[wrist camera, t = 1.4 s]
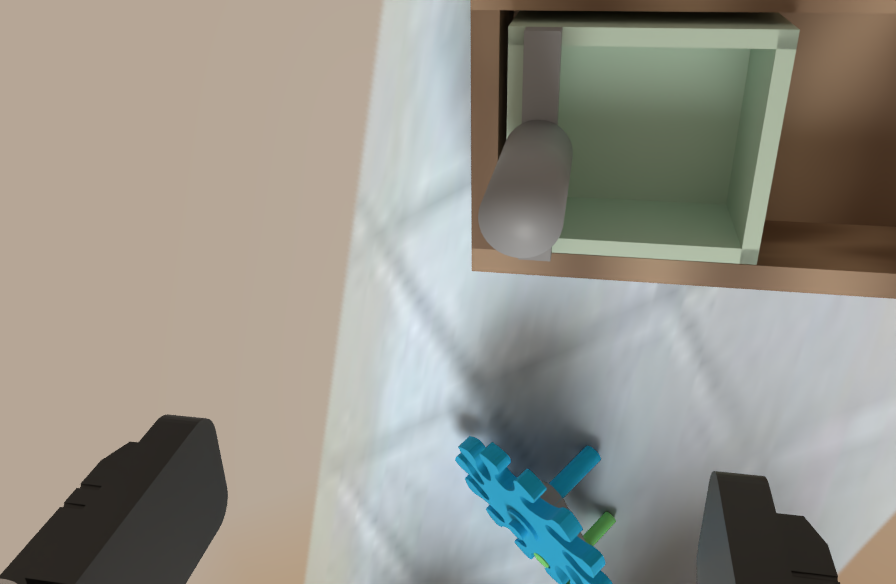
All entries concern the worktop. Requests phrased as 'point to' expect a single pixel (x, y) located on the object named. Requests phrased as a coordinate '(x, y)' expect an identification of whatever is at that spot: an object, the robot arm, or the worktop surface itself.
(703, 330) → the worktop surface
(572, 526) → the gear
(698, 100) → the crate
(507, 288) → the worktop surface
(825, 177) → the bay
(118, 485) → the robot arm
